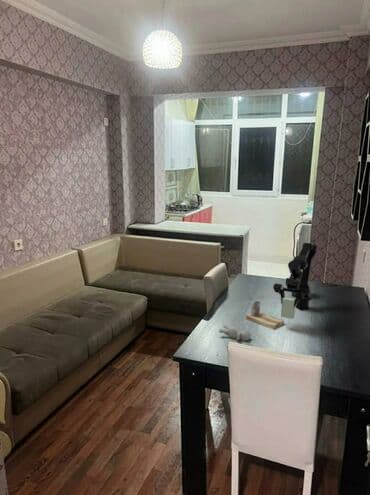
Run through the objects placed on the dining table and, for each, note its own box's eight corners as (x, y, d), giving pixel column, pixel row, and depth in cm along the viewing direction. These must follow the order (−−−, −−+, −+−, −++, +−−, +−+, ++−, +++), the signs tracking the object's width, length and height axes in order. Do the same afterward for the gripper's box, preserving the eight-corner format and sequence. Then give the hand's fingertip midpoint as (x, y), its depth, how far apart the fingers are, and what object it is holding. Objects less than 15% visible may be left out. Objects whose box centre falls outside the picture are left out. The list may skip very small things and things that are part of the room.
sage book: (282, 314, 192) (284, 296, 189) (294, 317, 189) (295, 299, 186) (281, 316, 189) (282, 298, 187) (292, 319, 186) (294, 300, 184)
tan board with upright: (256, 314, 208) (257, 297, 206) (283, 323, 195) (284, 306, 193) (245, 318, 201) (246, 302, 199) (273, 329, 189) (274, 311, 186)
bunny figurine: (247, 336, 172) (218, 327, 178) (245, 346, 173) (217, 336, 179) (253, 329, 180) (225, 320, 186) (251, 338, 181) (224, 328, 187)
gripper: (275, 268, 192) (267, 294, 185) (311, 274, 182) (304, 301, 175) (278, 279, 200) (271, 304, 193) (313, 284, 190) (306, 311, 184)
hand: (287, 305), depth 186 cm, fingers closed on sage book, 6 cm apart
